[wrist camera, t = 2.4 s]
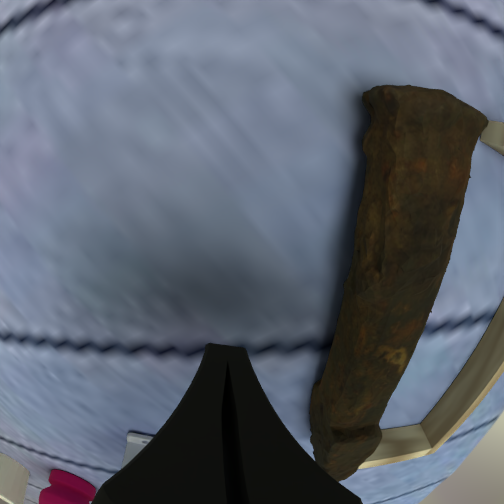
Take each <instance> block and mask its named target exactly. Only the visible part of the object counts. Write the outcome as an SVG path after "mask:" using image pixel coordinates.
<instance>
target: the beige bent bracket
mask: <svg viewBox="0 0 504 504" xmlns="http://www.w3.org/2000/svg"><path fill="white" fill-rule="evenodd" d="M488 121H489V120H488ZM480 141H482V142H483V143H485V144H486V145H488V146H490V147H491V148H493V149H494V150H496V151H497V152H499V153H500V154H502V155H503V156H504V123H503V122H496V121H489V123H488V126H487V128H485V129H484V130H483V132H482V134H481V139H480ZM503 372H504V298H503V300H502V302H501V304H500V306H499V308H498V310H497V312H496V314H495V316H494V318H493V320H492V321H491V323H490V325H489V327H488V329H487V330H486V332H485V334H484V335H483V337H482V339H481V341H480V342H479V344H478V346H477V347H476V349H475V350H474V352H473V354H472V355H471V357H470V358H469V360H468V361H467V363H466V364H465V366H464V367H463V369H462V370H461V372H460V373H459V375H458V376H457V377H456V379H455V380H454V382H453V383H452V384H451V386H450V387H449V389H448V390H447V391H446V393H445V394H444V395H443V397H442V398H441V399H440V400H439V402H438V403H437V404H436V405H435V407H434V408H433V409H432V410H431V412H430V413H429V414H428V415H427V416H426V418H425V419H424V420H423V421H422V422H421V424H417V425H412V426H405V427H399V428H392V429H384V430H381V431H382V439H381V442H380V444H379V446H378V447H377V449H376V450H375V452H374V453H373V454H372V455H371V456H370V457H368V458H367V459H366V460H365V462H364V463H362V464H361V465H360V466H359V467H358V469H362V468H368V467H374V466H380V465H385V464H391V463H395V462H400V461H405V460H409V459H413V458H417V457H421V456H425V455H429V454H432V453H434V452H435V451H436V450H437V449H438V448H439V447H440V446H441V445H442V444H443V443H444V442H445V441H446V440H447V439H448V438H449V437H450V436H451V435H452V434H453V433H454V432H455V431H456V430H457V429H458V428H459V427H460V426H461V424H462V423H463V422H464V421H465V420H466V419H467V418H468V417H469V415H470V414H471V413H472V412H473V411H474V410H475V408H476V407H477V406H478V405H479V403H480V402H481V401H482V400H483V398H484V397H485V396H486V395H487V393H488V392H489V391H490V389H491V388H492V387H493V385H494V384H495V383H496V381H497V380H498V379H499V377H500V376H501V374H502V373H503Z"/></svg>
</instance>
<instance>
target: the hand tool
mask: <svg viewBox="0 0 504 504" xmlns="http://www.w3.org/2000/svg"><path fill="white" fill-rule="evenodd" d="M362 101H363V104H364V106H365V107H366V109H367V111H368V112H369V114H370V116H371V124H370V126H369V128H368V129H367V131H366V133H365V135H364V136H363V139H362V146H363V151H364V153H365V154H366V156H367V167H366V173H365V185H364V191H363V197H362V201H361V204H360V207H359V210H358V215H357V225H356V229H355V236H354V253H353V258H352V264H351V268H350V272H349V275H348V278H347V279H346V281H345V282H344V284H343V286H344V295H343V300H342V305H341V310H340V314H339V317H338V321H337V327H336V331H335V335H334V339H333V343H332V346H331V349H330V353H329V356H328V360H327V364H326V367H325V370H324V373H323V376H322V379H321V380H319V381H317V382H316V383H315V384H314V386H313V390H312V395H311V404H310V412H309V414H310V424H311V429H310V430H311V432H312V435H311V437H310V442H311V444H312V446H313V449H314V451H313V454H314V457H315V460H316V461H315V462H316V463H317V464H318V465H319V466H320V467H321V468H322V469H323V470H325V471H326V472H327V473H328V474H329V475H330V476H331V477H333V478H334V479H335V480H336V481H337V482H339V481H341V480H345V479H347V478H348V477H350V476H351V475H352V474H354V473H355V472H356V471H357V469H358V467H359V466H360V465H361V464H362V463H364V462H365V460H366V459H367V458H368V457H370V456H371V455H372V454H373V453H374V452H375V450H376V449H377V447H378V446H379V444H380V442H381V439H382V431H381V429H380V426H379V421H380V419H381V417H382V415H383V413H384V411H385V408H386V406H387V403H388V401H389V399H390V397H391V395H392V393H393V392H394V390H395V389H396V387H397V385H398V383H399V381H400V379H401V377H402V375H403V373H404V371H405V369H406V367H407V365H408V363H409V361H410V359H411V357H412V355H413V353H414V350H415V348H416V345H417V343H418V340H419V339H420V337H421V335H422V333H423V331H424V328H425V325H426V322H427V319H428V317H429V314H430V312H431V313H432V311H431V310H432V307H433V305H434V301H435V299H436V296H437V294H438V292H439V288H440V286H441V282H442V279H443V276H444V274H445V272H446V268H447V266H448V264H449V260H450V256H451V252H452V246H453V243H454V240H455V237H456V234H457V228H458V224H459V221H460V214H461V211H462V208H463V205H464V197H465V192H466V189H467V185H468V180H469V178H471V177H470V169H471V157H472V154H473V151H474V148H475V145H476V143H477V140H478V137H479V136H480V135H481V133H482V132H483V130H484V129H485V128H487V126H488V123H489V121H488V120H487V117H486V116H485V115H484V114H482V113H481V112H480V111H478V110H477V109H475V108H473V107H472V106H470V105H468V104H466V103H465V102H463V101H461V100H459V99H457V98H456V97H454V96H453V95H452V94H450V93H448V92H446V91H444V90H440V89H428V88H422V87H416V86H411V85H406V86H395V85H382V86H376V87H373V88H372V89H371V90H369V91H366V92H364V93H363V96H362Z"/></svg>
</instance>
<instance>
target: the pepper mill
mask: <svg viewBox="0 0 504 504" xmlns="http://www.w3.org/2000/svg"><path fill="white" fill-rule="evenodd" d="M49 482H50V484H51V486H50V487H47V488H45V489H43V490H42V491H41V492H40V496H39V504H89V501H93V499H94V497H95V493H96V489H95V487H94V486H92V485H91V484H90V483H88V482H87V481H85V480H83V479H81V478H80V477H77V476H75V475H73V474H71V473H68V472H65V471H62V470H57V469H54V470H52V471H51V474H50V477H49Z"/></svg>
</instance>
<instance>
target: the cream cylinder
mask: <svg viewBox="0 0 504 504" xmlns="http://www.w3.org/2000/svg"><path fill="white" fill-rule="evenodd" d="M29 474H30V473H29V471H28V470H27V469H26V468H25V467H24V466H22V465H21V464H20V463H18V462H17V461H15V460H14V459H12V458H10V457H9V456H7V455H5V454H3V453H0V498H1V499H2V500H4V501H5V502H7V503H9V504H23V503H24V497H25V492H26V488H27V483H28V479H29Z"/></svg>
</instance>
